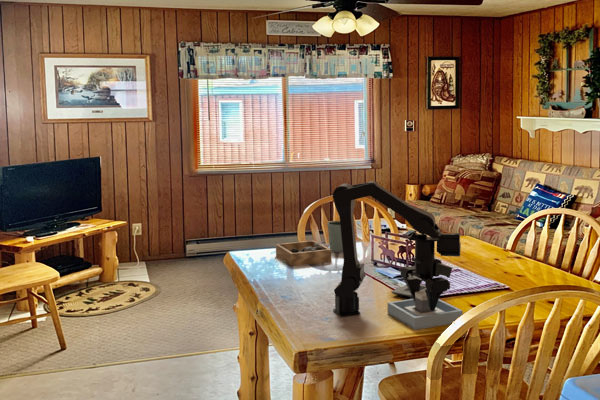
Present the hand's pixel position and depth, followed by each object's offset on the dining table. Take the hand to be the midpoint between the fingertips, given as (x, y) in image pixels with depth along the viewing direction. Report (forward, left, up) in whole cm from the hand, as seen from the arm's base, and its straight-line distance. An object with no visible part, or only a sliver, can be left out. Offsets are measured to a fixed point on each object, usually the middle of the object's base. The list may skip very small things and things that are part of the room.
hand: (424, 306), depth 202 cm
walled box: (0, 0, -4) cm, 4 cm away
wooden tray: (-6, +84, -4) cm, 84 cm away
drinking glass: (+14, +92, -4) cm, 93 cm away
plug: (0, 0, -3) cm, 3 cm away
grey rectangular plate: (+10, +22, -4) cm, 25 cm away
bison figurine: (-5, +81, -4) cm, 82 cm away
